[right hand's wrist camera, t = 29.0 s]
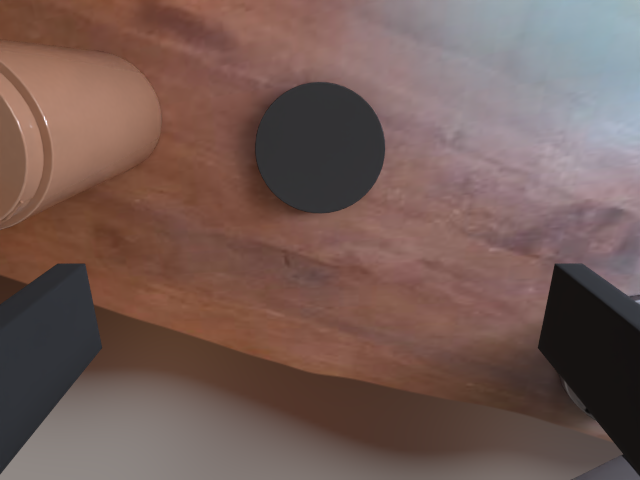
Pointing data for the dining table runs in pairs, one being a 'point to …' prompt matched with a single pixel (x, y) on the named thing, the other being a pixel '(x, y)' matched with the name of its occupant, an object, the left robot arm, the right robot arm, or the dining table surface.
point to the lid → (320, 147)
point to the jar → (68, 124)
